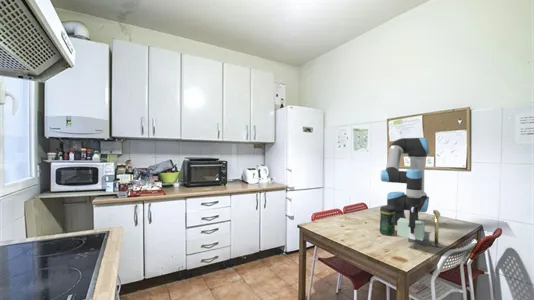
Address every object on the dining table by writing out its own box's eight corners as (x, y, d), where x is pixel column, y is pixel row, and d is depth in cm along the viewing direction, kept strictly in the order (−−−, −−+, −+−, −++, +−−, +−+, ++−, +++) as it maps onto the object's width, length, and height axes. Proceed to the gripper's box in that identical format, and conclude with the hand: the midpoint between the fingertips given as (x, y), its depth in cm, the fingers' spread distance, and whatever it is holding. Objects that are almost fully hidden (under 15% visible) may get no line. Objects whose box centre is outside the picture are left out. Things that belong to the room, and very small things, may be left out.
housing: (408, 241, 139) (408, 231, 139) (410, 238, 144) (410, 228, 144) (440, 248, 129) (441, 238, 129) (441, 245, 134) (441, 234, 134)
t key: (432, 240, 138) (432, 209, 138) (436, 241, 137) (437, 209, 137) (435, 245, 130) (435, 212, 130) (440, 246, 129) (440, 213, 129)
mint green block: (397, 235, 130) (397, 221, 130) (400, 231, 137) (400, 217, 137) (422, 240, 123) (422, 225, 123) (424, 235, 129) (424, 221, 130)
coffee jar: (390, 236, 146) (390, 207, 146) (377, 233, 153) (378, 205, 152) (397, 233, 152) (397, 205, 152) (384, 230, 158) (385, 203, 158)
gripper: (419, 200, 118) (419, 244, 118) (424, 194, 135) (424, 232, 135) (402, 198, 123) (402, 240, 123) (409, 193, 140) (409, 229, 140)
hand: (413, 236), depth 129 cm, fingers closed on mint green block, 9 cm apart
